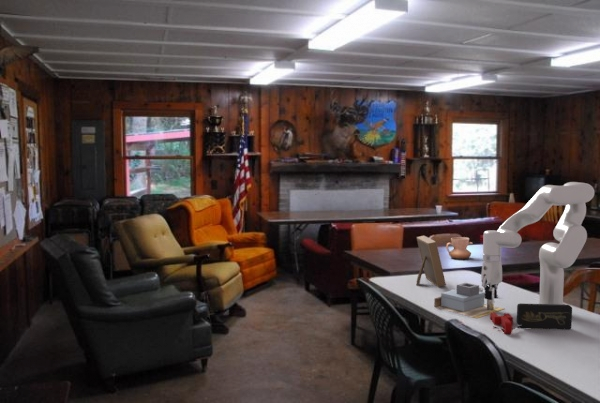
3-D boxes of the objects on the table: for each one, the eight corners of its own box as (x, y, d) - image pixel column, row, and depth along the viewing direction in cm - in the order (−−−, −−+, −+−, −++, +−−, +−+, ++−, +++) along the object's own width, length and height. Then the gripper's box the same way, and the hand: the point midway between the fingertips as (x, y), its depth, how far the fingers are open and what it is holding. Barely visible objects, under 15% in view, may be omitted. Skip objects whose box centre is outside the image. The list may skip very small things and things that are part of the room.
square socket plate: (484, 305, 241) (484, 284, 240) (463, 311, 231) (464, 289, 230) (461, 299, 250) (462, 279, 250) (440, 305, 240) (441, 284, 240)
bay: (504, 312, 236) (504, 300, 236) (476, 321, 223) (476, 309, 222) (462, 301, 254) (462, 290, 253) (434, 310, 240) (434, 298, 239)
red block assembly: (489, 322, 222) (490, 311, 222) (507, 323, 221) (507, 311, 221) (499, 335, 206) (499, 323, 206) (518, 336, 205) (518, 323, 205)
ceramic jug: (469, 256, 370) (469, 236, 369) (475, 260, 355) (475, 239, 354) (443, 256, 371) (443, 236, 370) (448, 260, 357) (448, 239, 356)
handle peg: (495, 309, 235) (495, 287, 234) (491, 310, 233) (492, 288, 232) (489, 308, 237) (489, 286, 236) (485, 309, 235) (486, 287, 235)
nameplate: (569, 328, 214) (570, 304, 213) (571, 330, 212) (572, 305, 211) (516, 327, 216) (517, 303, 215) (517, 328, 214) (518, 304, 213)
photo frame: (433, 277, 304) (433, 235, 302) (446, 286, 283) (446, 241, 280) (408, 278, 303) (408, 235, 301) (419, 287, 282) (419, 242, 279)
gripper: (489, 261, 225) (487, 303, 227) (509, 257, 235) (508, 297, 237) (473, 259, 231) (472, 299, 233) (494, 254, 241) (493, 293, 243)
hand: (490, 298), depth 235 cm, fingers closed on handle peg, 3 cm apart
